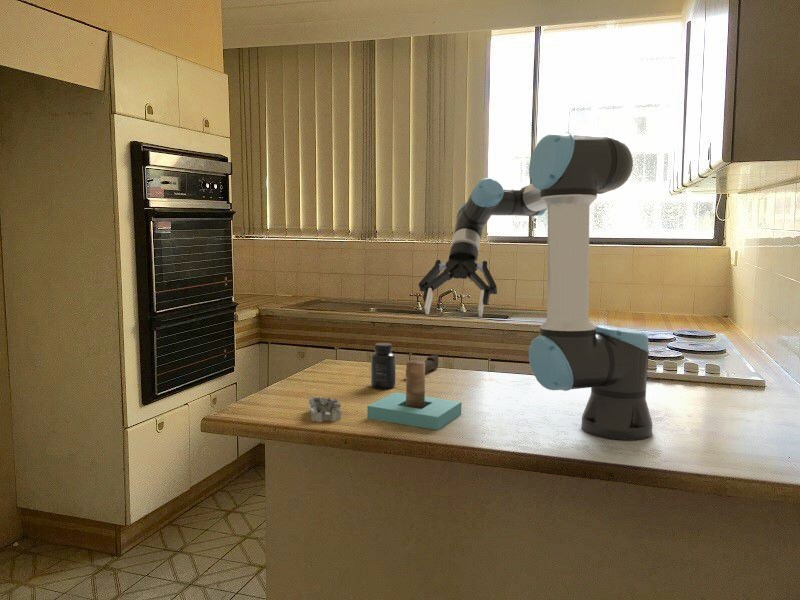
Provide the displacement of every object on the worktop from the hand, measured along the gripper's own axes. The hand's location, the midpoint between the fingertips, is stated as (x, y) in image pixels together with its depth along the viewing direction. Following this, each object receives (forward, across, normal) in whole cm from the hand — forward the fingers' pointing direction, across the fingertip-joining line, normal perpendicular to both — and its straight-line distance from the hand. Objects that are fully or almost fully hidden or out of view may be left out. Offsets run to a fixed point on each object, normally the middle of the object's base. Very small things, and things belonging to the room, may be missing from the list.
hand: (452, 312), depth 166 cm
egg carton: (+30, +27, -3) cm, 41 cm away
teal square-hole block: (+26, +6, -7) cm, 28 cm away
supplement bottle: (+9, +22, -24) cm, 34 cm away
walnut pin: (+26, +6, -7) cm, 28 cm away
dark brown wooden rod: (-5, +15, -38) cm, 41 cm away
